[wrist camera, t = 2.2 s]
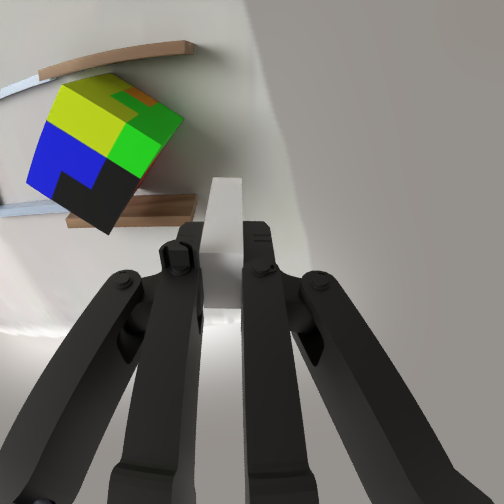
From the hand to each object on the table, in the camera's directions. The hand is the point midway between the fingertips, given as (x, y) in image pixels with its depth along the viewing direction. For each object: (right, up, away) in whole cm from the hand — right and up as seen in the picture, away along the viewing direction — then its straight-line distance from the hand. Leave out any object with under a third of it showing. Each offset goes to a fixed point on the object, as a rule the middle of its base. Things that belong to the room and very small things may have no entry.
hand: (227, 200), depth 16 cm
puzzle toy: (-13, +10, +13) cm, 21 cm away
